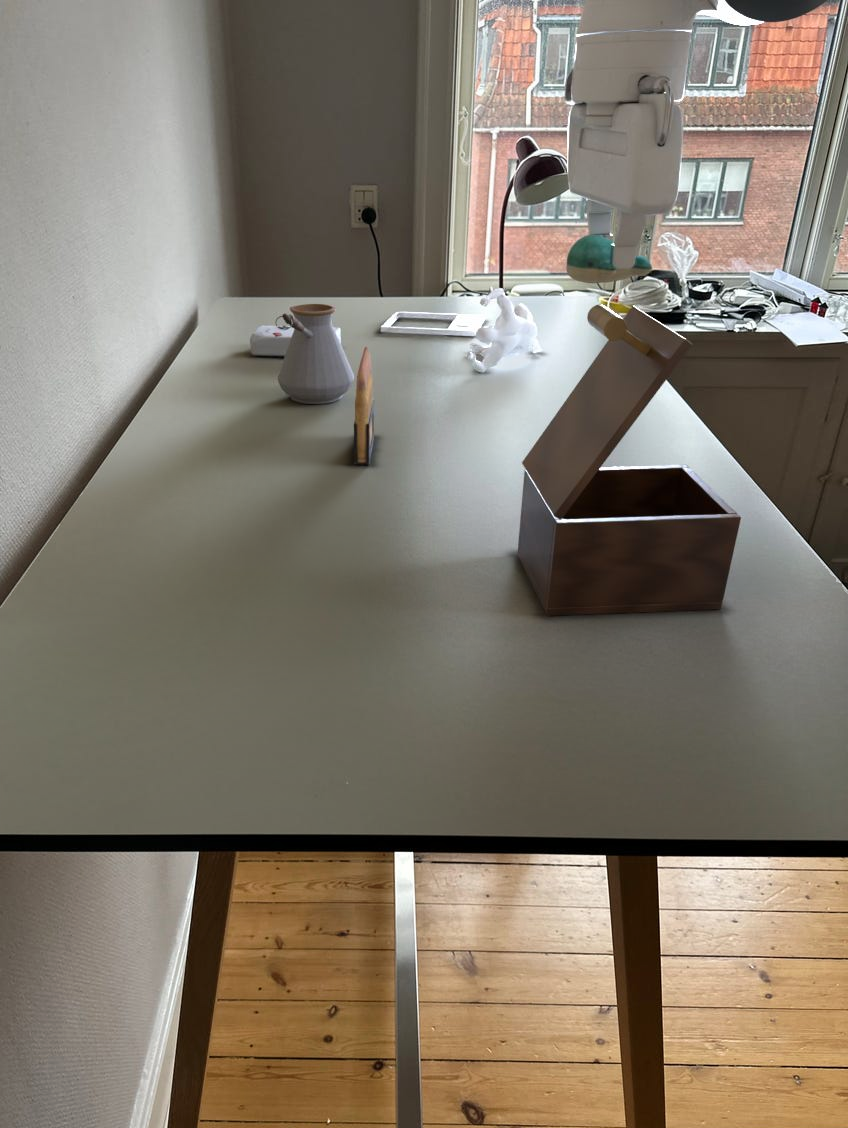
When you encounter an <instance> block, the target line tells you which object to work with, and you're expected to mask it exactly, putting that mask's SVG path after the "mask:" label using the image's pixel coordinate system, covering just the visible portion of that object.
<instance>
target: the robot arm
mask: <svg viewBox="0 0 848 1128" xmlns="http://www.w3.org/2000/svg"><path fill="white" fill-rule="evenodd" d="M827 1H828V0H584V1H583V8H582V12H581V15H580V19H579V22H578V25H577V29H576V39H575V53H574V58H573V65H572V68H571V70H570V72H568V73H567V76H566V79H565V83H564V96H563V98H564V102H565V103H566V104H567V105H571V107H570V109H569V115H568V124H567V125H568V126H567V163H566V164H567V165H566V166H567V171H566V172H567V173H566V174H567V182H568V188H569V192H570V193H571V194H572V195H575V196H578V197H580V198H584V199H586V201H587V202H586V211H585V212H586V213H585V214H586V221H587V230H588V235H590V234H598V235H601V236H603V237H605V238H607V239H609V240H611V241H613V242H614V244H611V250H610V260H609V262H610V264H611V265H612V266H613V267H615V268H617V269H629V268H632V267H633V266H634V264H635V258H636V256H637V249H638V245H639V243H640V240H641V239H642V236H643V233H644V230H645V227H646V224H647V218H648V217H647V216H659V215H669V214H670V213H672V212H673V209H674V207H675V205H676V202H677V200H678V196H679V188H680V180H681V179H680V178H681V169H682V156H683V143H684V113H683V111H682V110H683V109H682V107H681V106H680V105H679V104H678V103H677V102H681V101H682V100H683V99H684V94H685V86H686V81H687V70H688V62H689V57H690V56H689V55H690V49H691V48H690V47H691V40H692V31H693V24H694V21H695V20H696V18H697V16H699V15H702V16H706V17H712V18H716V19H720V20H722V21H724V22H726V23H729V24H733V25H739V26H751V25H759V24H763V23H781V22H785V21H790V20H793V19H798V18H799V17H802V16H805V15H806V14H809V13H810V12H812V11H814V10H816V9H817V8H819V7H821V6H822V5H823V4H825V3H826V2H827ZM675 102H676V103H675ZM614 210H616V213H615V214H616V215H615V224H616V230H615V236H614V235H613V234H612V213H613V212H614ZM613 239H614V240H613Z"/></svg>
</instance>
